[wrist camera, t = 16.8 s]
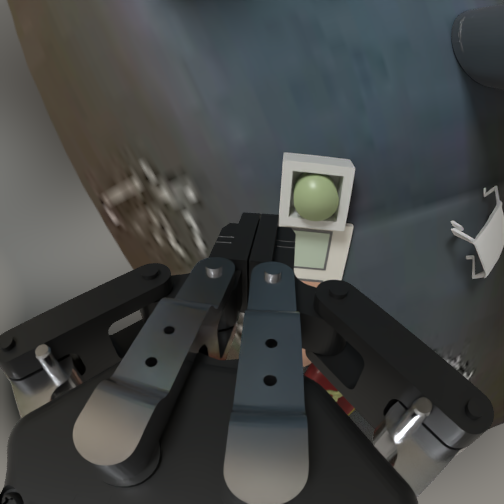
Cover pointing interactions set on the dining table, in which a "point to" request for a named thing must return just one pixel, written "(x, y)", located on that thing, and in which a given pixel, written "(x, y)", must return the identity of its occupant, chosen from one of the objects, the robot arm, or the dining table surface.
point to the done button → (315, 196)
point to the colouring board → (320, 253)
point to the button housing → (331, 166)
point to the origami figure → (486, 238)
